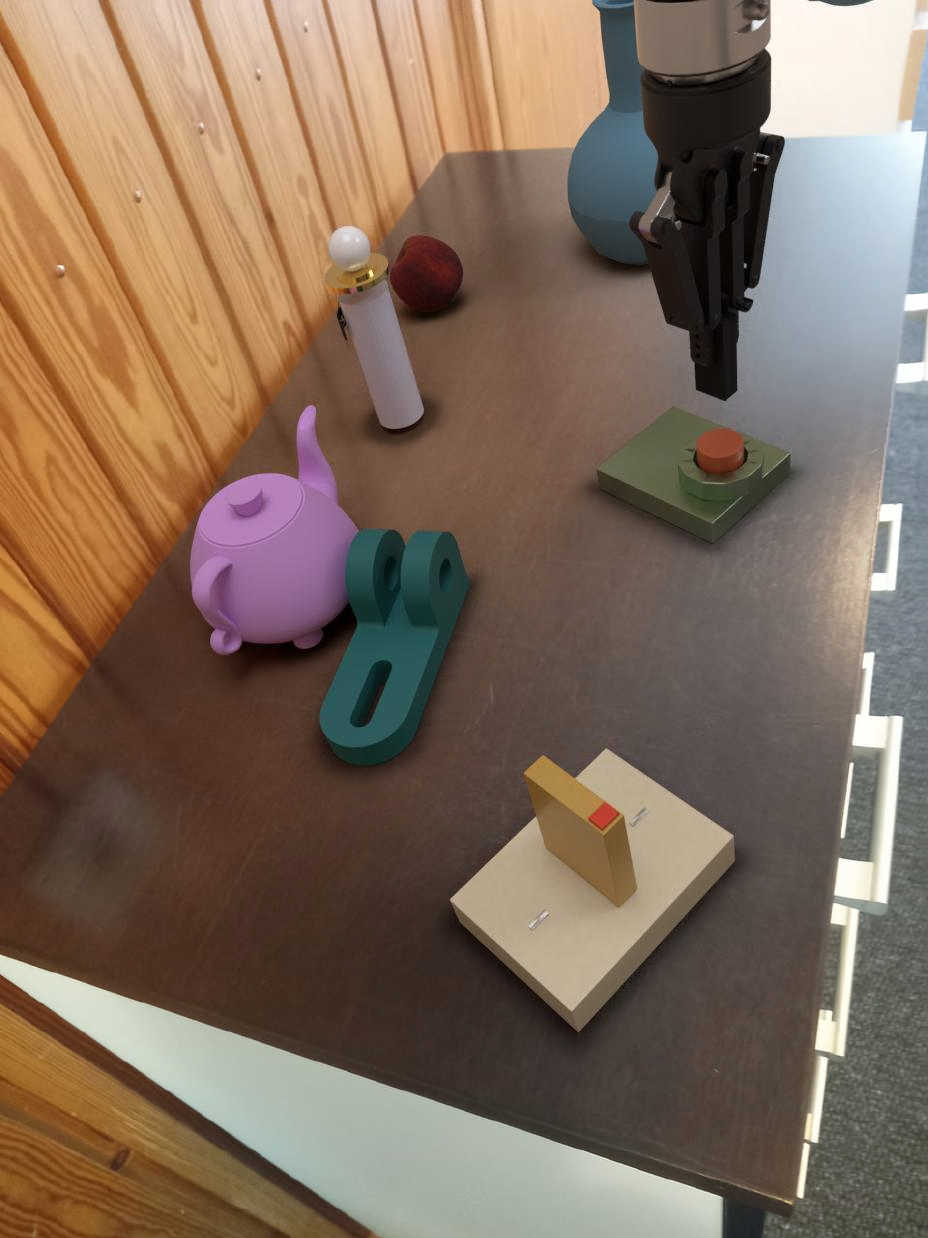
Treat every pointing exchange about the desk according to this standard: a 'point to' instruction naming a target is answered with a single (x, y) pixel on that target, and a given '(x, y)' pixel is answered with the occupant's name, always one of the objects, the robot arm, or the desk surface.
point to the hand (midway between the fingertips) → (716, 390)
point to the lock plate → (594, 895)
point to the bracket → (392, 639)
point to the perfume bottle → (373, 326)
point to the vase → (615, 148)
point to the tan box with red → (582, 830)
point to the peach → (426, 273)
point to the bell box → (690, 476)
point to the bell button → (720, 451)
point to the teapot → (273, 554)
